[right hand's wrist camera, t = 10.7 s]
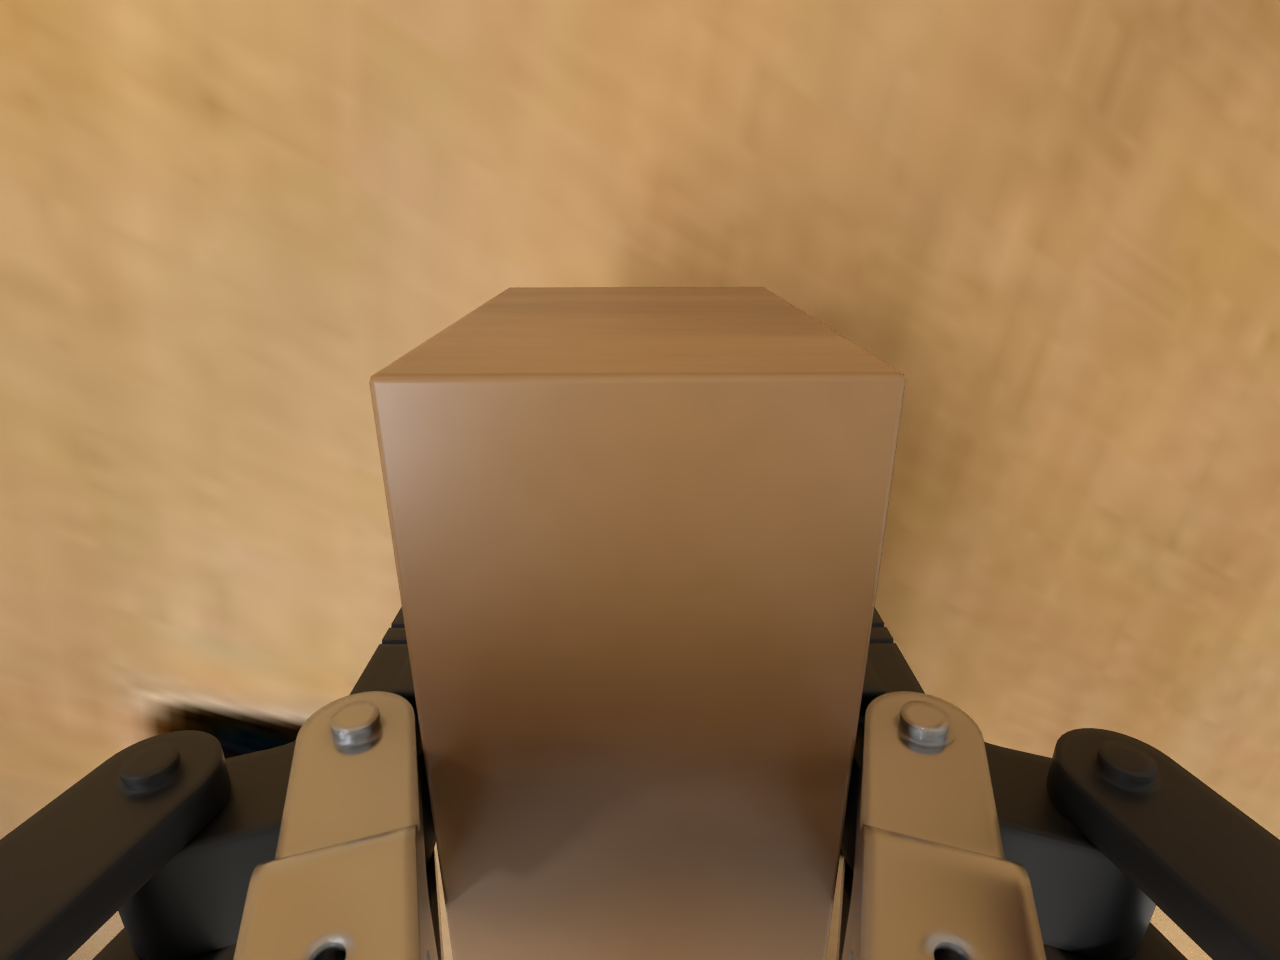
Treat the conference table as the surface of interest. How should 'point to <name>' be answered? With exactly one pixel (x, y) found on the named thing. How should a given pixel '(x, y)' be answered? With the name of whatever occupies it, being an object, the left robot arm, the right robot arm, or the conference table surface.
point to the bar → (638, 613)
